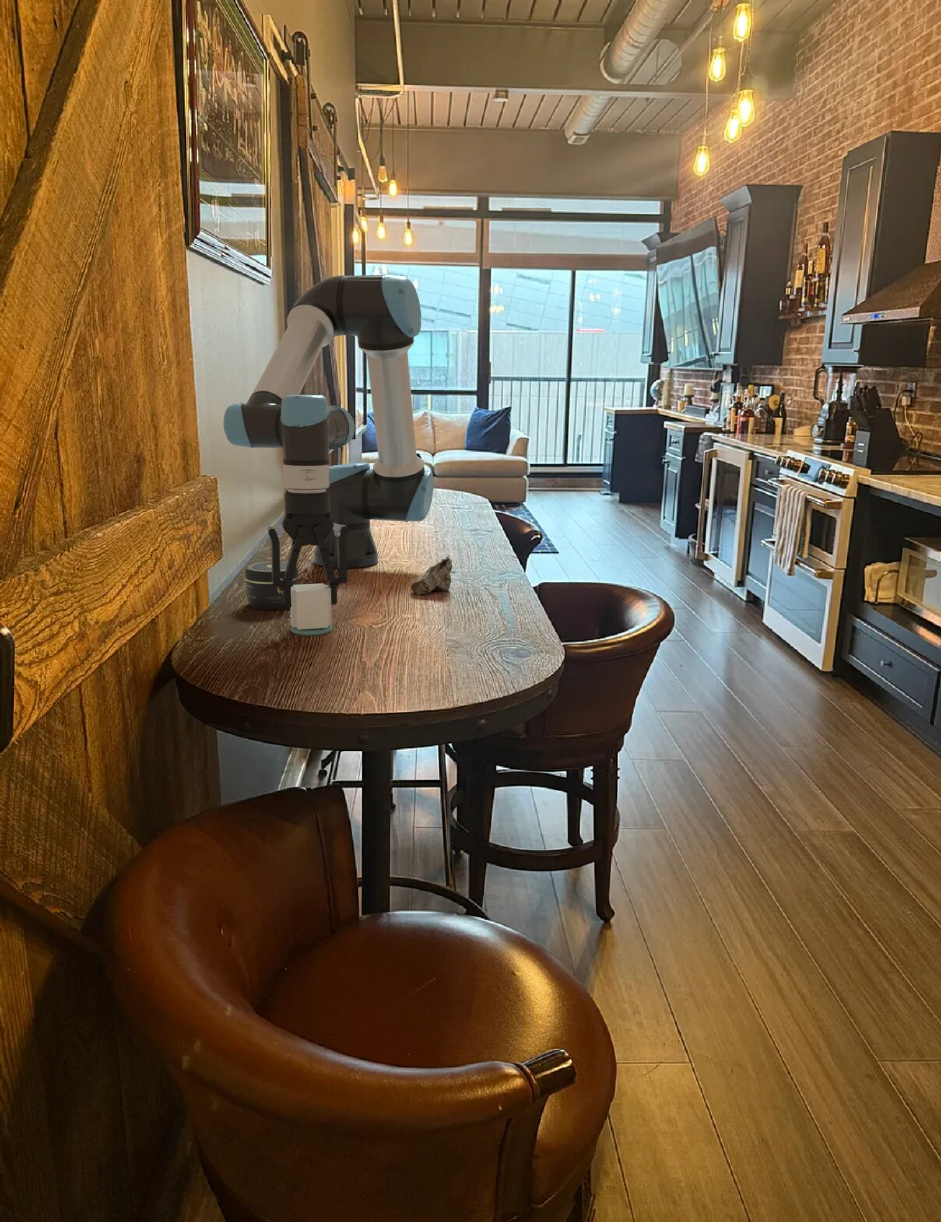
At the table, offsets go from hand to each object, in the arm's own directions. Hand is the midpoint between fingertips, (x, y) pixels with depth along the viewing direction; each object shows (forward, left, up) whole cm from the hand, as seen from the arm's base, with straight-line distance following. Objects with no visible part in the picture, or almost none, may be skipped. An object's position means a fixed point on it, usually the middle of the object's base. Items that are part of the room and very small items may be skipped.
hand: (311, 623), depth 149 cm
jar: (-19, -5, -1) cm, 20 cm away
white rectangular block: (0, 0, 0) cm, 0 cm away
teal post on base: (0, 0, -1) cm, 1 cm away
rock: (-22, +28, -1) cm, 36 cm away
